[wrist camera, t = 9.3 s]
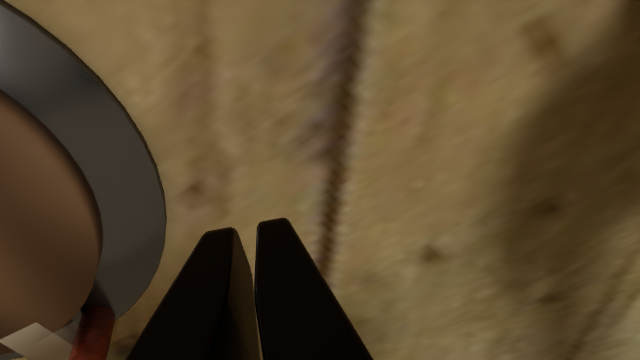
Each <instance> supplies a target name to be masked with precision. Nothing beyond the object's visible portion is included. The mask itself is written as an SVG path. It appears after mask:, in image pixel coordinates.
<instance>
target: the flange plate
mask: <svg viewBox="0 0 640 360" xmlns="http://www.w3.org/2000/svg"><path fill="white" fill-rule="evenodd" d="M102 249H103V227H102V221H101V214H100V210H99V207H98V204H97V201H96V198H95V196H94V193H93V190H92V188H91V187H90V185H89V183H88V181H87V179H86V177H85V175H84V173H83V171H82V170H81V168H80V167H79V165H78V164H77V163H76V161H75V160H74V158H73V157H72V156H71V154H70V153H69V151H68V150H67V149H66V147H65V146H64V145H63V144H62V143H61V142H60V141H59V140H58V139H57V138H56V136H55V135H54V134H53V133H52V132H51V131H50V130H49V129H48V128H47V127H46V126H45V125H44V124H43V123H42V122H41V121H40V120H39V119H37V118H36V117H35V116H34V115H33V114H32V113H31V112H30V111H28V110H27V109H26V108H25V107H24V106H23V105H22V104H20V103H19V102H18V101H16V100H15V99H13V98H12V97H11V96H9V95H8V94H6V93H5V92H4V91H2V90H1V89H0V355H3V354H7V353H11V352H13V351H16V352H17V353H19V354H21V355H22V356H24V357H26V358H28V359H29V360H69V356H70V353H71V349H72V346H73V342H74V339H75V335H76V332H77V328H78V325H79V324H77V323H76V322H74V321H73V320H71V319H72V318H73V317H74V316H75V315H76V313H77V312H78V311H79V310H80V308H81V307H82V306H83V304H84V303H85V301H86V299H87V297H88V295H89V293H90V291H91V289H92V287H93V283H94V280H95V276H96V273H97V269H98V265H99V261H100V257H101V253H102Z"/></svg>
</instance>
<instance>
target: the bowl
mask: <svg viewBox="0 0 640 360" xmlns="http://www.w3.org/2000/svg"><path fill="white" fill-rule="evenodd" d="M0 89H1V90H2V91H4V92H5V93H6V94H8V95H9V96H11V97H12V98H13V99H15V100H16V101H18V102H19V103H20V104H22V105H23V106H24V107H25V108H26V109H27V110H28V111H30V112H31V113H32V114H33V115H34V116H35V117H36V118H37V119H39V120H40V121H41V122H42V123H43V124H44V125H45V126H46V127H47V128H48V129H49V130H50V131H51V132H52V133H53V134H54V135H55V136H56V138H57V139H58V140H59V141H60V142H61V143H62V144H63V145H64V146H65V147H66V149H67V150H68V151H69V153H70V154H71V156H72V157H73V158H74V160H75V161H76V163H77V164H78V165H79V167H80V168H81V170H82V171H83V173H84V175H85V177H86V179H87V181H88V183H89V185H90V187H91V188H92V190H93V193H94V196H95V198H96V201H97V204H98V207H99V210H100V214H101V221H102V227H103V249H102V253H101V257H100V261H99V265H98V269H97V273H96V276H95V280H94V283H93V287H92V289H91V291H90V293H89V295H88V297H87V299H86V301H85V303H84V304H83V306H82V307H81V308H80V310H79V311H78V312H77V313H76V315H75V316H74V317H73V318H72V319H71V320H73V321H74V322H76V323H77V324H79V325H78V328H77V332H76V335H75V339H74V342H73V346H72V349H71V353H70V356H69V360H106V358H107V354H108V349H109V345H110V340H111V336H112V332H113V327H114V323H115V320H116V319H118V318H119V317H120V316H121V315H123V314H124V313H125V312H126V311H127V310H128V309H129V308H130V307H131V306H132V305H133V304H134V303H135V302H136V301H137V300H138V298H139V297H140V296H141V295H142V293H143V292H144V291H145V289H146V288H147V287H148V285H149V283H150V281H151V279H152V277H153V275H154V273H155V271H156V269H157V267H158V264H159V260H160V257H161V254H162V250H163V247H164V241H165V230H166V218H167V217H166V207H165V197H164V190H163V187H162V183H161V180H160V176H159V172H158V169H157V165H156V163H155V161H154V159H153V157H152V154H151V152H150V150H149V148H148V146H147V144H146V141H145V139H144V137H143V135H142V134H141V132H140V131H139V129H138V128H137V126H136V124H135V123H134V121H133V120H132V118H131V117H130V115H129V113H128V112H127V110H126V109H125V107H124V106H123V105H122V104H121V103H120V101H119V100H118V99H117V98H116V96H115V95H114V94H113V93H112V92H111V90H110V89H109V88H108V87H107V86H106V84H105V83H104V82H103V81H102V80H101V78H100V77H99V76H98V75H97V74H96V73H95V72H94V71H93V70H92V69H91V68H89V67H88V66H87V65H86V64H85V63H84V62H83V61H82V60H81V59H80V58H79V57H78V56H77V55H76V54H75V53H74V52H73V51H72V50H71V49H70V48H69V47H68V46H66V45H65V44H64V43H62V42H61V41H60V40H59V39H57V38H56V37H55V36H54V35H52V34H51V33H50V32H48V31H47V30H46V29H45V28H43V27H42V26H41V25H39V24H38V23H37V22H36V21H34V20H33V19H32V18H31V17H29V16H27V15H26V14H24V13H23V12H21V11H20V10H18V9H16V8H15V7H13V6H12V5H10V4H9V3H7V2H6V1H4V0H0ZM22 357H24V356H22V355H21V354H19V353H17V352H16V351H13V352H11V353H7V354H3V355H0V360H10V359H16V358H22Z"/></svg>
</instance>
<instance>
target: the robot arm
mask: <svg viewBox="0 0 640 360" xmlns="http://www.w3.org/2000/svg"><path fill="white" fill-rule="evenodd" d="M254 297H255V301H254ZM255 307H256V312H255ZM256 314H257V321H258V327H259V334H260V340H261V347H262V353H263V360H373V358H372V357H371V355H370V353H369V352H368V350H367V348H366V347H365V345H364V343H363V342H362V340H361V338H360V337H359V335H358V334H357V332H356V330H355V329H354V327H353V325H352V324H351V322H350V320H349V319H348V317H347V315H346V314H345V312H344V311H343V309H342V307H341V306H340V304H339V302H338V301H337V299H336V297H335V296H334V294H333V292H332V291H331V289H330V287H329V286H328V284H327V283H326V281H325V279H324V278H323V276H322V274H321V273H320V271H319V269H318V268H317V266H316V264H315V263H314V261H313V259H312V258H311V256H310V255H309V253H308V251H307V250H306V248H305V246H304V245H303V243H302V241H301V240H300V238H299V236H298V235H297V233H296V232H295V230H294V228H293V227H292V225H291V223H290V222H289V220H288V219H286V218H278V219H273V220H267V221H262V222H260V223H259V224H258V226H257V237H256V260H255V282H254V290H253V280H252V274H251V269H250V265H249V262H248V260H247V257H246V254H245V251H244V248H243V246H242V243H241V240H240V237H239V235H238V232H237V231H236V230H235V229H234V228H232V227H228V228H223V229H217V230H212V231H208V232H206V233H205V234H204V235H203V236H202V237H201V239H200V240H199V242H198V244H197V245H196V247H195V248H194V250H193V252H192V253H191V255H190V256H189V258H188V260H187V261H186V263H185V264H184V266H183V268H182V269H181V271H180V272H179V274H178V276H177V277H176V279H175V280H174V282H173V284H172V285H171V287H170V288H169V290H168V292H167V293H166V295H165V296H164V298H163V300H162V301H161V303H160V304H159V306H158V308H157V309H156V311H155V312H154V314H153V316H152V317H151V319H150V320H149V322H148V323H147V325H146V327H145V328H144V330H143V331H142V333H141V335H140V336H139V338H138V339H137V341H136V343H135V344H134V346H133V347H132V349H131V351H130V352H129V354H128V355H127V357H126V359H125V360H260V356H259V345H258V334H257V323H256Z"/></svg>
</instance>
